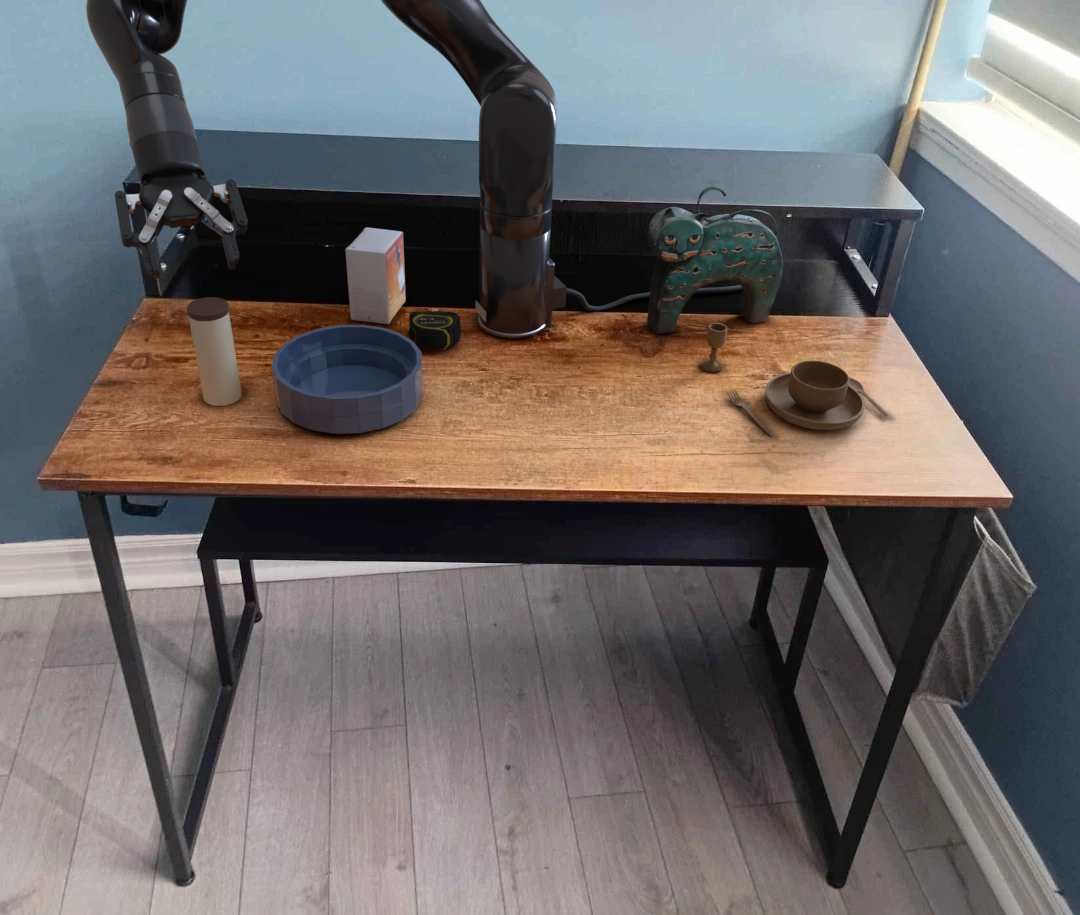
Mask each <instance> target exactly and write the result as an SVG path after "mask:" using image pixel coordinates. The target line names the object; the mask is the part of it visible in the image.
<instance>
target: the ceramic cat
mask: <svg viewBox="0 0 1080 915" xmlns="http://www.w3.org/2000/svg"><path fill="white" fill-rule="evenodd" d="M709 191H718V192H720V193H721V194H722V195H723V197H726V196H727V193H726V192H725V190H723V189H722V188H721V187H718V186H709V187H707V188H705V189H703V190H702V191H701V192H700V193H699V195H698V198H697V201H696V212H697V213H695V214H694V213H693V212H690V211H688V210H686V209H684V208H682V207H677V206H670V207H666V208H663V209H661V210H659V211H658V212H656V213H655V214H654V216H653V217H652V218H651V220H650V223H649V227H648V230H647V238H648V242H649V245H650V247H651V248H652V250H653V251H654V253H655V254H656V255H657V258H656V261H655V263H654V264H655V265H654V268H653V273H652V277H651V281H650V291H649V292H650V298H648V299H649V300H648V307H647V316H646V317H647V318H646V323H647V325H648V326H649V328H650V329H651V330H652V331H653V333H654V334H655V335H663V334H664V335H665V334H672V333H674V332H675V331H676V328H677V323H678V321H679V318H680V316H681V314H682V312H683V309H684V307H685V305H687V303H688V302H689V300H690V299H691V298H692V296H693V295H695V294H694V293H695V292H696V290H697V289H699V288H703V287H704V286H707V285H710V284H713V283H718V282H721V281H732V282H735V283H737V284H738V285H741V286H742V288H743V289H742V301H741V307H740V315H741V316H742V317H743V318H744V319H745V321H746V322H748V323H754V324H758V323H763V322H767V321H768V320H769V316H770V314H771V310H772V307H773V304H774V302H775V299H776V297H777V294H778V291H779V289H780V286H781V282H782V276H783V270H784V260H783V258H784V257H783V255H782V250H781V247H780V242H779V240H778V239H777V237H778V236H779V231H778V230H779V229H778V224H777V221H776V219H775V217H773V215H771V213H769V212H766V211H764V210H760V209H754V208H753V209H751V208H747V209H741V210H737V211H734V212H732V213H731V212H730V213H725V214H717V215H713V216H708V217H706V216H707V215H708V213H705V212H704V213H703V212H700V202H701V199H702V197H703V196H704V195H705V194H706V193H707V192H709ZM745 213H752V214H756V215H763V216H765V217H767V218H768V219H769V220H770V221H771V222H772V224H773V226H774V232H773V230H771V229H770V228H769V227H768V226H767V225H765V224H764V223H762V221H760V220H759V219H757V218H755V217H752V216H751V215H750V216H749V215H745Z"/></svg>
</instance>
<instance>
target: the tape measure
mask: <svg viewBox="0 0 1080 915" xmlns="http://www.w3.org/2000/svg"><path fill="white" fill-rule="evenodd" d="M408 326H409V328H408V338H409V339H410V340H412V341H413V342H414V343H415V344H416V346H417V347H418V349H420V350H426V351H443V350H449V349H452V348H453V347H455V346H456V345H458V343H459V342H460V340H461V336H462V334H461V333H462V332H461V331H462V326H461V316H460V315H459V314H458V313H457V312H454V311H445V310H444V311H443V310H440V311H439V310H436V311H435V310H433V311H432V310H431V311H430V310H429V311H428V310H427V311H410V312H409V316H408Z"/></svg>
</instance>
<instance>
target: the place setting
mask: <svg viewBox="0 0 1080 915" xmlns="http://www.w3.org/2000/svg"><path fill="white" fill-rule="evenodd" d="M706 333H707V334H706V335H707V336H706V343H707V345H708V346H709V347H710V350H711V351H710V353H709V355H708V357H709V360H704V361H702V362H701V363H700V368H701V369H702V370H703V371H705V372H707V373H719V372H721V371H722V370H723V365H722V364H721V363H720V362H719V361H717V359H718V349H720V348H722V347H723V346H724V345H725V344H726V340H727V335H728V326H727V325H726V324H724V323H721V322H712V323H709V324H708V328H707V332H706ZM725 392H726V394H727V396H728V397H729V399H730V400H731V402H732V403H733V405H734V406H736V407H740V408H742V409H743V410H744V411H745V412H746V413H747V414H748V416H750V417H751V419H752V420H753V421H754V422H755V423H756V424H757V425H758V426H759V427H760V428H761V429H762V430H763V431H764V432H765V433H766V434H767V435H768V436H771V437H772V436H773V434H772V432H771V431H770V430H769V429H768V428H767V427H766V426H765V425H764V424H763V423H762V421H761V420H760V419H759V418H758V417H757V416H756V415H755V414H754V413H753V412H752V411H751V410H750V409H749V407H747V406H746V404H745V402H744V401H743V400H742V398H741V397H740V395H739V394H738V392H737V391H736V389H735V388H733V389H732V388H731V389H730V390H725ZM863 396H864V397H863ZM764 397H765V399H766V402H767V404H768V406H769V408H770V409H771V410H772V412H774V413H775V414H776V415H777V416H779V418H781V419H783V420H784V421H787V422H788V423H791V424H792V425H796V426H798V427H801V428H805V429H808V430H809V429H810V430H815V431H836V430H841V429H844V428H847V427H849V426H851V425H853V424H855V423H856V422H857V421H859V419H860V418H862V416H863V413H864V411H865V408H866V404H865V403H866V402H865V399H864V398H866V399H867V401H868V402H870V404H871V405H873V407H874V408H875V409H876V410H877V411H878V412H879V413H881V414H882V415H883V416H885V417H889V415H888V413H887V412H886V410H884V409H883V407H881V406H880V405H879V404H878V403H877V402H876V401H875V400H874V399H872V397H871V396H870V395H868V394H867V392H866V391H865V390H864V385H863V384H861V382H859V381H858V380H857V379H854V378H853V377H851V376H849V374H848V373H847V372H846V371H845V370H844V369H843V368H841V367H840V366H838V365H835V364H833V363H830V362H827V361H822V360H803V361H799V362H797V363H796V364H794V365H793V366H792V367H791V369H790V372H785V373H781V374H778V375H776V376H774V377H772V378H771V379H770V380H769V381H768V383H767V384H766V386H765V396H764Z"/></svg>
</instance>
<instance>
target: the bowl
mask: <svg viewBox="0 0 1080 915" xmlns="http://www.w3.org/2000/svg"><path fill="white" fill-rule="evenodd" d="M422 359H423V358H422V351H421V349H420V348H418V347H417V346H416V344H415V343H414V342H413V341H412V340H411V339H410V338H409V337H407V336H406V335H404V334H402V333H400V332H398V331H395V330H391V329H388V328H385V327H380V326H373V325H365V324H337V325H330V326H326V327H319V328H316V329H313V330H310V331H306V332H304V333H301V334H298V335H296V336H295V337H293V338H291V339H289V340H288V341H286V342H284V343H283V344H282V345H281V346H280V347H279V349H277V351H276V352H275V353H274V354H273V357H272V363H271V375H272V383H273V389H274V397H275V402H276V404H277V407H278V409H279V411H280V413H281V414H282V415H283V416H284V417H285V418H286V419H288V420H289V421H291V422H292V424H295V425H298V426H300V427H303V428H305V429H308V430H311V431H314V432H315V431H316V432H321V433H329V434H335V435H342V434H362V433H367V432H371V431H377V430H381V429H385V428H387V427H389V426H392V425H394V424H397V423H399V422H402V421H404V420H405V419H406V418H407V417H408V416H410V415H411V414H412V413H414V412H415V411H416V410H417V409H418V406H419V405H420V403H421V401H422V399H423V397H424V394H423V393H424V392H423V361H422Z"/></svg>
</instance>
